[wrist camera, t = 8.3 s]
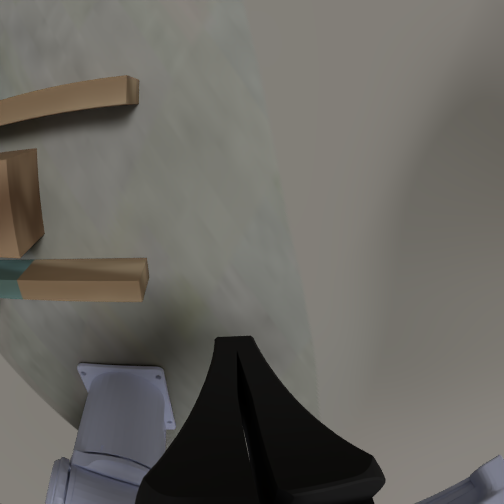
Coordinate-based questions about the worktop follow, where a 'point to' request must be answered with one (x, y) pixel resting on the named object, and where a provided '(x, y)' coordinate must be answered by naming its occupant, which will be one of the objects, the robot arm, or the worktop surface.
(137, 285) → the bay
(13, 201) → the brown wooden block
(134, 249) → the worktop surface
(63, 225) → the worktop surface
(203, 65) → the worktop surface
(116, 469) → the robot arm
